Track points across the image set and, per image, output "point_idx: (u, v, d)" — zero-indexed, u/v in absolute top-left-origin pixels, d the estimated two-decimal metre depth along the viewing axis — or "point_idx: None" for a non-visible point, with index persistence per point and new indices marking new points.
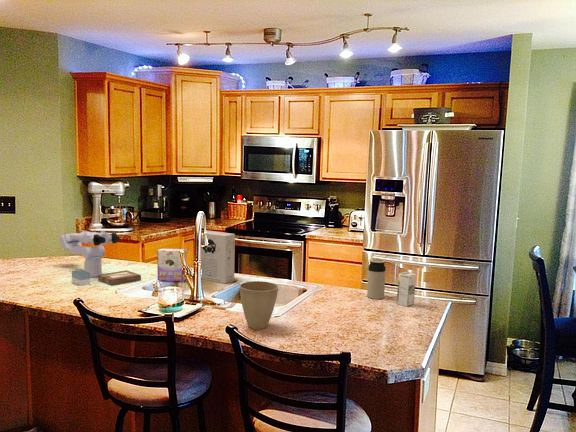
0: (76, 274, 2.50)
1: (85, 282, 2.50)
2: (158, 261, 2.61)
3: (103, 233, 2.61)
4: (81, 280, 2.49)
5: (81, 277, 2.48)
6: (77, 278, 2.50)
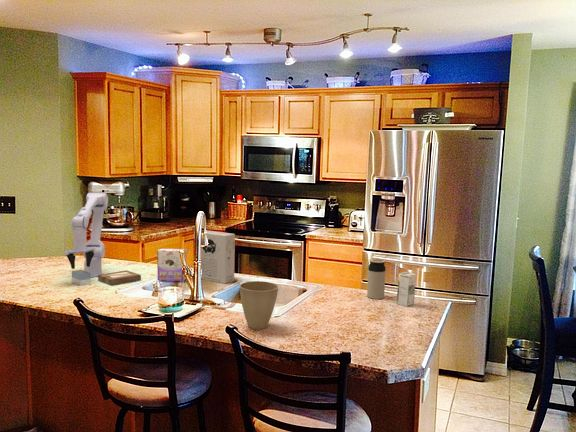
0: (76, 274, 2.50)
1: (85, 282, 2.50)
2: (158, 261, 2.61)
3: (83, 251, 2.49)
4: (81, 280, 2.49)
5: (81, 277, 2.48)
6: (77, 278, 2.50)
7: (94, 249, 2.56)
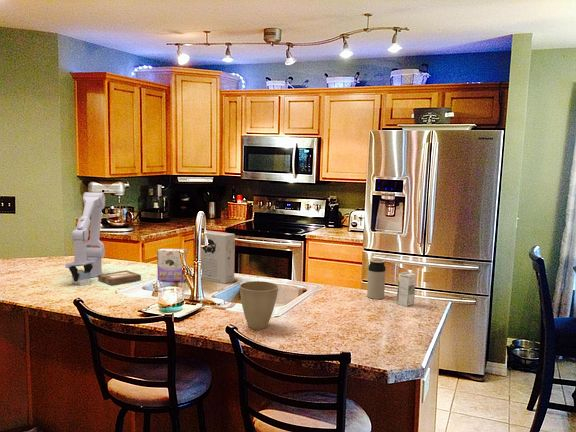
0: None
1: (85, 282, 2.50)
2: (158, 261, 2.61)
3: (83, 264, 2.50)
4: (81, 280, 2.49)
5: (81, 276, 2.48)
6: (77, 278, 2.50)
7: (94, 262, 2.56)
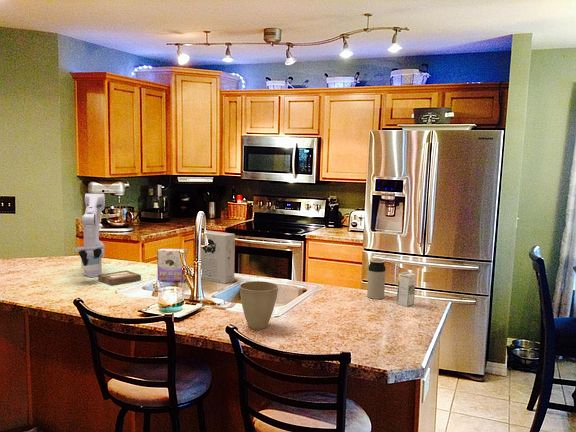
0: None
1: (94, 267, 2.51)
2: (158, 261, 2.61)
3: (92, 248, 2.51)
4: (91, 265, 2.50)
5: (90, 262, 2.49)
6: None
7: (104, 246, 2.57)
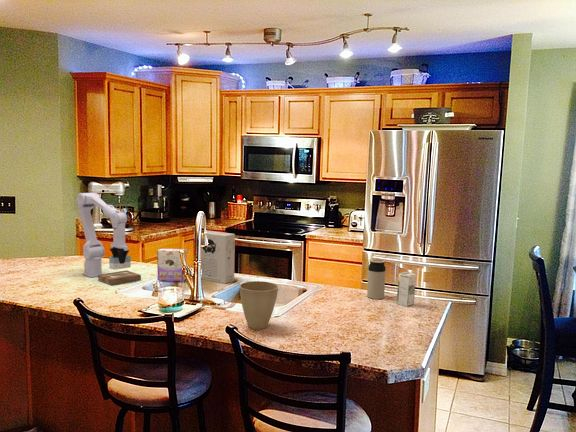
0: None
1: (111, 265, 2.57)
2: (158, 261, 2.61)
3: (114, 246, 2.57)
4: (110, 263, 2.58)
5: (109, 259, 2.58)
6: None
7: (124, 248, 2.54)
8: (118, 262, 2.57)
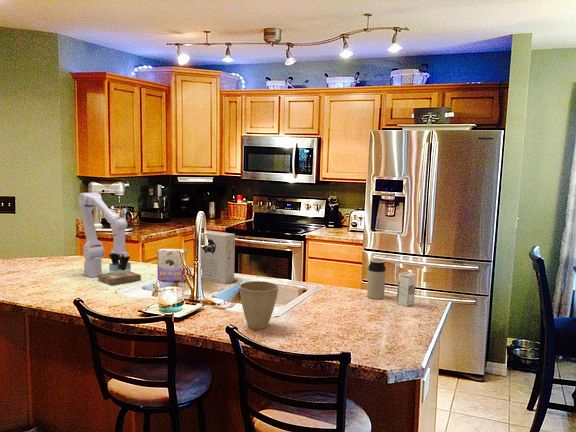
0: None
1: (111, 272, 2.57)
2: (158, 261, 2.61)
3: (114, 253, 2.57)
4: (110, 270, 2.58)
5: (109, 266, 2.58)
6: None
7: (124, 254, 2.54)
8: (118, 269, 2.57)
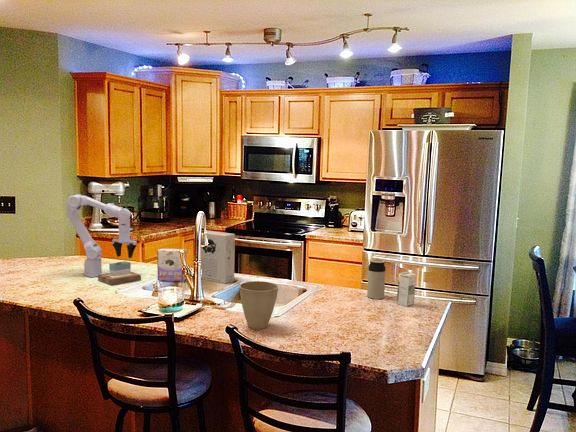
0: None
1: (111, 272, 2.57)
2: (158, 261, 2.61)
3: (120, 242, 2.68)
4: (110, 270, 2.58)
5: (109, 266, 2.58)
6: None
7: (133, 242, 2.67)
8: (118, 269, 2.57)
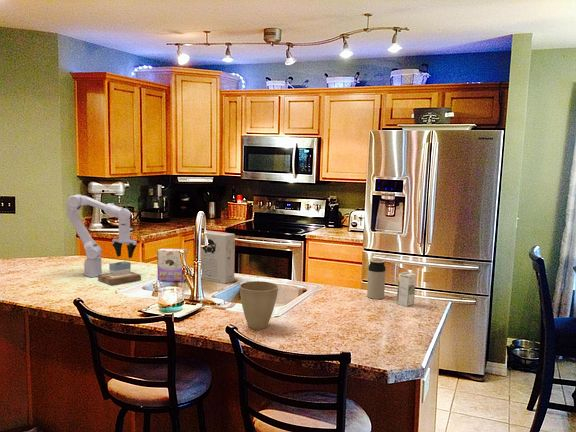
0: None
1: (111, 272, 2.57)
2: (158, 261, 2.61)
3: (120, 242, 2.68)
4: (110, 270, 2.58)
5: (109, 266, 2.58)
6: None
7: (133, 242, 2.67)
8: (118, 269, 2.57)
